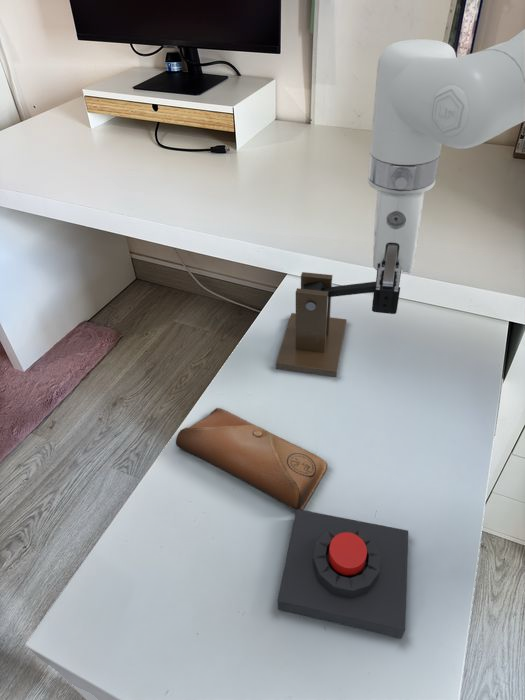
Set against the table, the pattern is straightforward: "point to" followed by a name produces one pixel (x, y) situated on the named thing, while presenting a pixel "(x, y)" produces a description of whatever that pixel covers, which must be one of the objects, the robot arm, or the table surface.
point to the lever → (343, 288)
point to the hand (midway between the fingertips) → (385, 297)
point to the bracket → (312, 332)
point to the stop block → (346, 591)
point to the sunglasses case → (255, 457)
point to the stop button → (347, 553)
